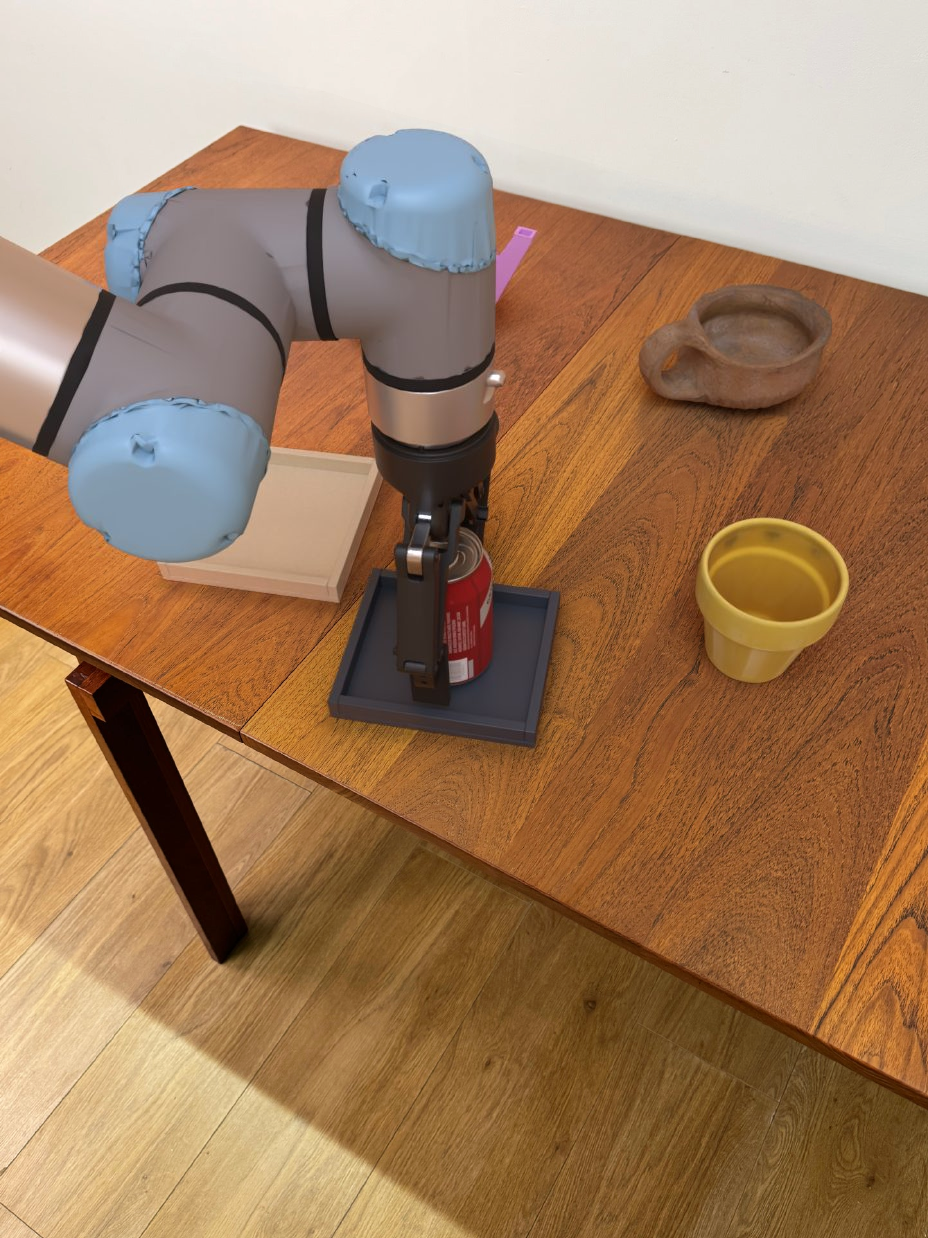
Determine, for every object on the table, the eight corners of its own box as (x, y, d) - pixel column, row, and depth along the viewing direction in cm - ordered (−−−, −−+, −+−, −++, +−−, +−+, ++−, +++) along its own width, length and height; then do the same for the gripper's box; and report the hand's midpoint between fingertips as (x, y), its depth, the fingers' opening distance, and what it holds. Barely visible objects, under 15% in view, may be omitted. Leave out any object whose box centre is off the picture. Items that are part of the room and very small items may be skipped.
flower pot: (819, 713, 74) (855, 633, 67) (679, 696, 76) (699, 615, 68) (813, 608, 81) (845, 523, 73) (684, 593, 82) (703, 508, 75)
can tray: (330, 717, 76) (327, 701, 74) (375, 583, 84) (372, 567, 82) (534, 748, 73) (535, 732, 72) (559, 608, 82) (560, 591, 80)
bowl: (709, 462, 90) (705, 357, 84) (617, 414, 100) (608, 318, 95) (856, 393, 95) (863, 290, 89) (754, 354, 106) (754, 260, 100)
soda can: (475, 701, 75) (472, 599, 66) (393, 677, 77) (379, 574, 68) (504, 634, 79) (505, 529, 70) (425, 613, 81) (416, 507, 72)
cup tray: (163, 579, 85) (156, 562, 83) (225, 457, 94) (220, 440, 93) (339, 603, 83) (336, 586, 81) (384, 475, 92) (382, 458, 91)
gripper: (456, 562, 52) (466, 776, 69) (525, 305, 66) (519, 536, 83) (317, 544, 53) (361, 760, 70) (414, 295, 67) (432, 525, 84)
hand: (447, 638), depth 76 cm, fingers open, 11 cm apart
